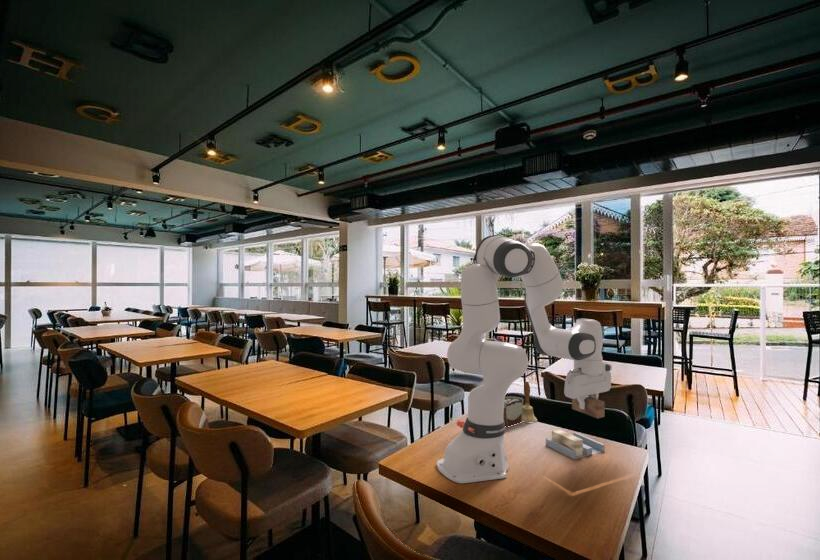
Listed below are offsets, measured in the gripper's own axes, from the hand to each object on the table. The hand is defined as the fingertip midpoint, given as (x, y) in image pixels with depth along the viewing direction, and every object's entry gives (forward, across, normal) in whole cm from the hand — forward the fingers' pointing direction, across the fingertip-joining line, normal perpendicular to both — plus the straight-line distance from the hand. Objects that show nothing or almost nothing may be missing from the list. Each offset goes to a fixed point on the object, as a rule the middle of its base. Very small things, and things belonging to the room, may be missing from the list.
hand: (587, 407), depth 130 cm
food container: (+16, -3, +34) cm, 38 cm away
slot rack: (+15, -2, +4) cm, 16 cm away
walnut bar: (+2, 0, 0) cm, 2 cm away
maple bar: (+15, -6, +4) cm, 16 cm away
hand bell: (+16, +7, +33) cm, 37 cm away
